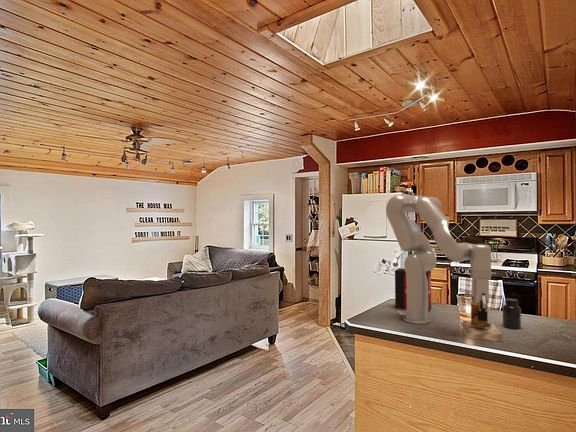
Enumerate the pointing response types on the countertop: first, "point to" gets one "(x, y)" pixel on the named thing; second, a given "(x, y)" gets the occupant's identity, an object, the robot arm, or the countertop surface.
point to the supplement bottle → (511, 314)
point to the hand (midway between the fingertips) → (480, 317)
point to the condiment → (474, 316)
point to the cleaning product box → (402, 289)
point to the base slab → (482, 332)
